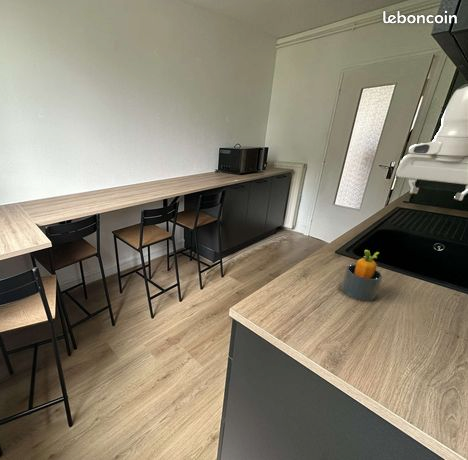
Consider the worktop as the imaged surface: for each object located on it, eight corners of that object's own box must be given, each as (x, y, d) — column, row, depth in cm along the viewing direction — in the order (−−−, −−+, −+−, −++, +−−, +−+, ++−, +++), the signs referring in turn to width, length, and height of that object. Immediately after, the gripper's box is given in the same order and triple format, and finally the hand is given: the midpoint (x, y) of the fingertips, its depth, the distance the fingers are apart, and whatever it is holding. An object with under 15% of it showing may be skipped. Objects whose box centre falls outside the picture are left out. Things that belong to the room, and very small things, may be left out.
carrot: (368, 289, 83) (381, 249, 77) (367, 296, 80) (381, 255, 74) (349, 283, 86) (361, 245, 80) (348, 291, 83) (360, 251, 77)
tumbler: (378, 293, 82) (386, 272, 79) (368, 304, 78) (376, 283, 74) (347, 281, 89) (353, 261, 86) (336, 291, 84) (342, 270, 81)
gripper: (517, 148, 62) (490, 201, 68) (408, 145, 78) (394, 188, 83) (516, 151, 59) (488, 206, 65) (402, 146, 75) (388, 192, 80)
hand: (434, 196), depth 74 cm, fingers open, 8 cm apart
